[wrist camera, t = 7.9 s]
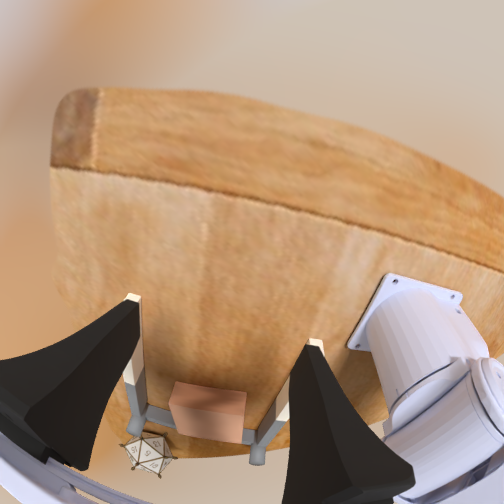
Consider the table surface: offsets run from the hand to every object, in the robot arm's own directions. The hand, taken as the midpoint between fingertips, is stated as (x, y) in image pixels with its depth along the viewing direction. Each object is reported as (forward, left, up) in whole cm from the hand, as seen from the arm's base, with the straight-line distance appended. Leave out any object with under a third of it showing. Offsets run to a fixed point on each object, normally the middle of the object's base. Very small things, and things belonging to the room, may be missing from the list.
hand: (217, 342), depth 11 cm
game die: (+7, +37, -10) cm, 39 cm away
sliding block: (-1, +22, -10) cm, 24 cm away
